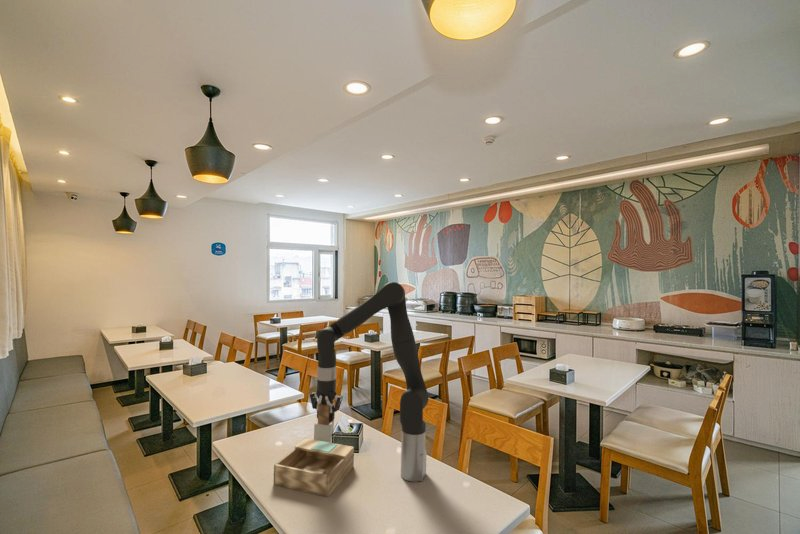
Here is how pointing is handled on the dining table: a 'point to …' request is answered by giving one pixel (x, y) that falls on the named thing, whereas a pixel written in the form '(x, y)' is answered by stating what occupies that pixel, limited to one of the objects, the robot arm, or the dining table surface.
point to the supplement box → (323, 432)
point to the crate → (314, 467)
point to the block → (323, 414)
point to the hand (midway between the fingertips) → (325, 420)
